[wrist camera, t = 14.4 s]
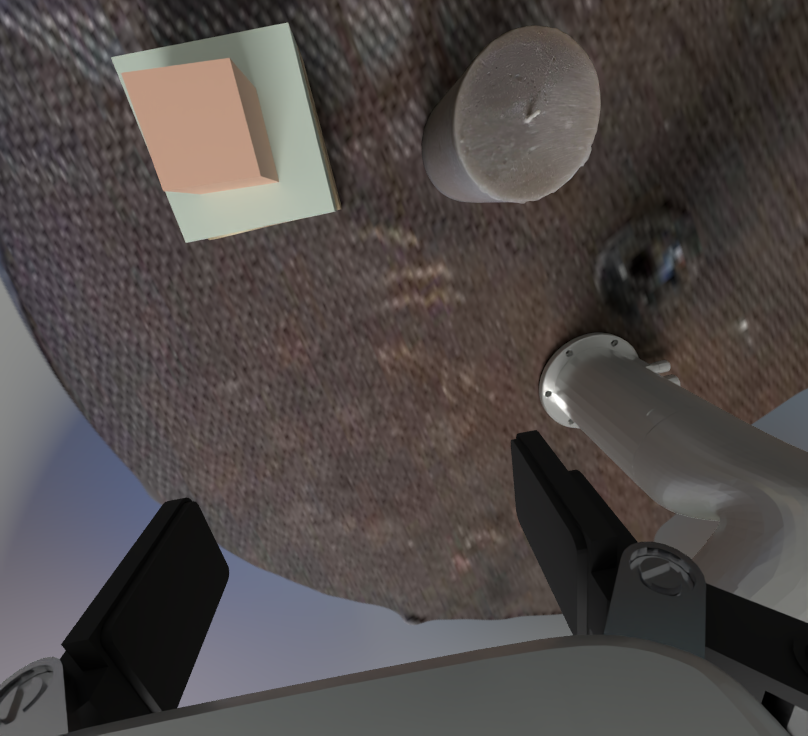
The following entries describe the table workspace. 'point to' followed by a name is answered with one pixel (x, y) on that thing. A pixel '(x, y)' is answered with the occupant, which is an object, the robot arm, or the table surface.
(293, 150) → the sage slab
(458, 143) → the pillar candle
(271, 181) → the terracotta cube
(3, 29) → the table surface
